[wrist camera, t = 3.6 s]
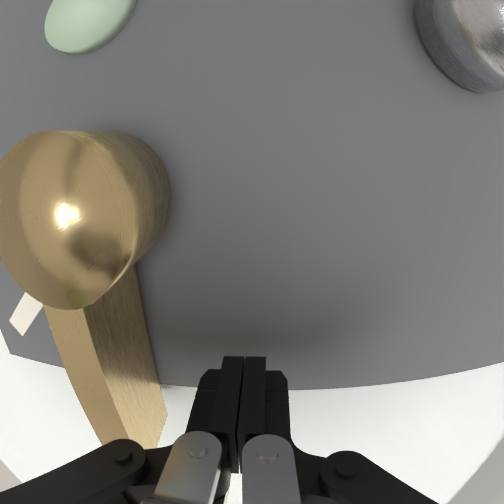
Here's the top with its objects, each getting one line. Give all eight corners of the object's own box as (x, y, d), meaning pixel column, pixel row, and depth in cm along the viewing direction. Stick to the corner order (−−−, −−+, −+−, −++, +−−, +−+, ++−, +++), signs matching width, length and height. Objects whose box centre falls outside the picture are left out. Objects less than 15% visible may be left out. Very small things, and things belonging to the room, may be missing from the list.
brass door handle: (53, 141, 10) (-18, 149, 6) (167, 123, 10) (114, 114, 6) (111, 405, 14) (84, 458, 11) (199, 417, 14) (184, 480, 10)
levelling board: (21, -68, 6) (4, -78, 4) (510, -66, 5) (526, -76, 3) (22, 341, 16) (3, 360, 14) (520, 341, 14) (538, 360, 12)
